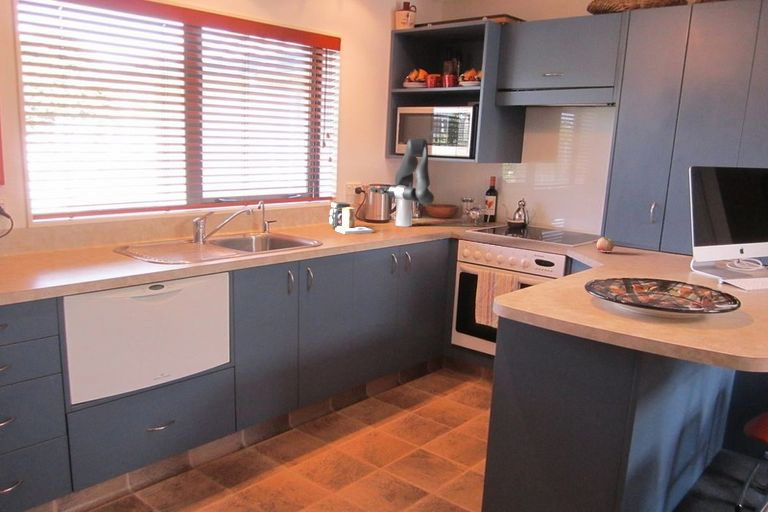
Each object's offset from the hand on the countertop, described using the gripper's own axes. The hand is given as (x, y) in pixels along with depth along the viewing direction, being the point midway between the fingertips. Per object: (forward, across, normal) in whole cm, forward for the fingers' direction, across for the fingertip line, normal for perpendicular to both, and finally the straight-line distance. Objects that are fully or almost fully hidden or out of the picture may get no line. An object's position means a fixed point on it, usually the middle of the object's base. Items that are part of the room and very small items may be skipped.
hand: (375, 188), depth 336 cm
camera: (+25, +1, +26) cm, 36 cm away
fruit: (-112, -50, +24) cm, 125 cm away
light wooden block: (+13, +6, +24) cm, 28 cm away
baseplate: (+12, +3, +25) cm, 28 cm away
